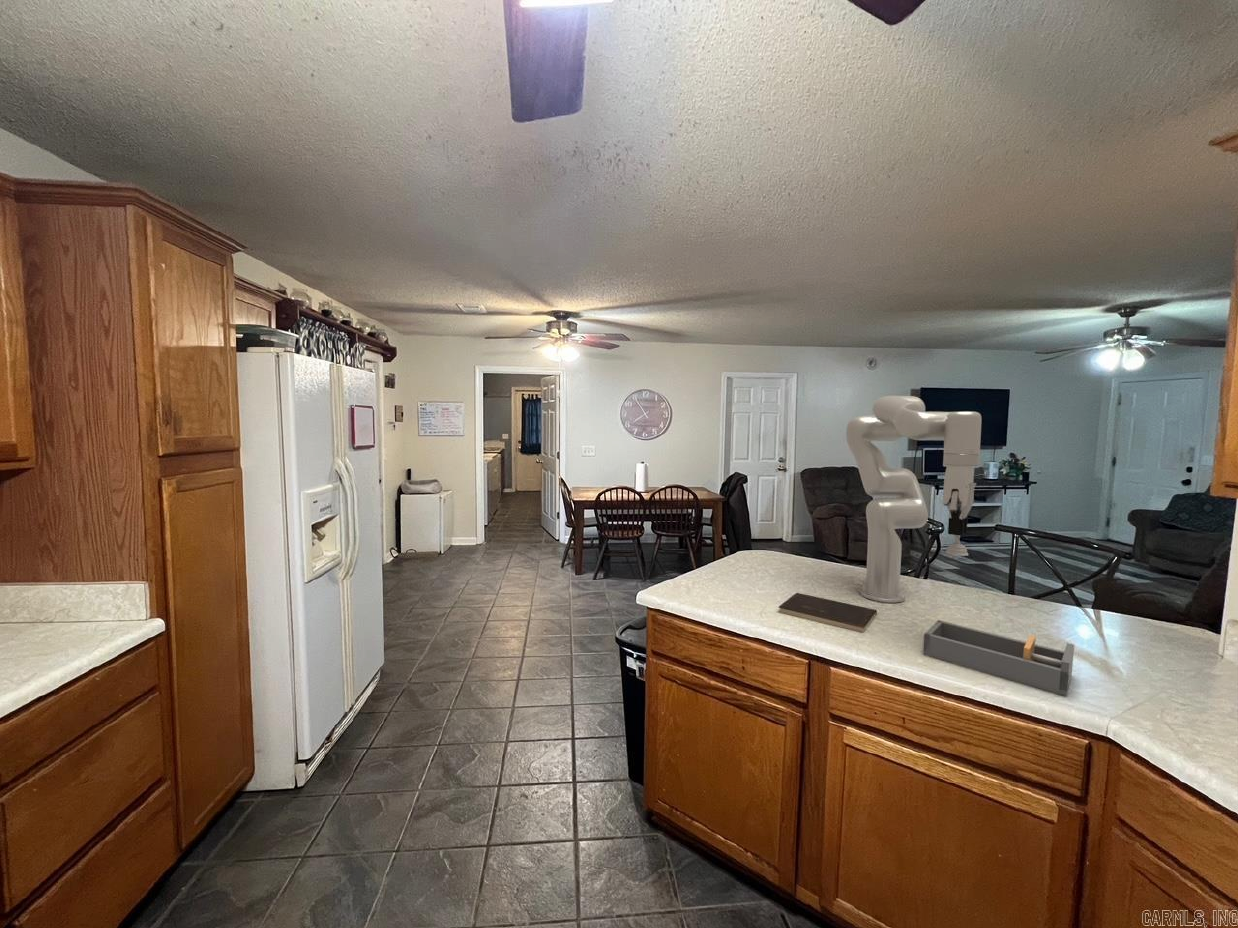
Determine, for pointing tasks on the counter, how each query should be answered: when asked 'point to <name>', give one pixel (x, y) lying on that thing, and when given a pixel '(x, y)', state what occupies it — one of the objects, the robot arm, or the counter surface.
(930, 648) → the tray
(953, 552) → the chalice
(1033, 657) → the pusher
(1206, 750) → the counter surface
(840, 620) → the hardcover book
